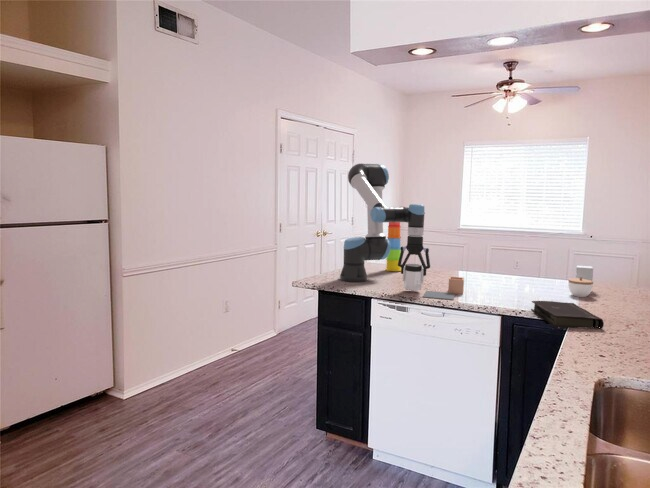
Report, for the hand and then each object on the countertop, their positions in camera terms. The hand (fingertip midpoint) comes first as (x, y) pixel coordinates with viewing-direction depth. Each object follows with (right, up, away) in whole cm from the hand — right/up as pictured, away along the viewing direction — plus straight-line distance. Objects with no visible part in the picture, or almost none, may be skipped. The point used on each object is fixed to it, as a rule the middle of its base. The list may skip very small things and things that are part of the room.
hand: (413, 281), depth 233 cm
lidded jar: (+82, -7, 0) cm, 83 cm away
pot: (+22, -6, +2) cm, 23 cm away
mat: (+11, -6, -7) cm, 15 cm away
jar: (0, -4, +1) cm, 4 cm away
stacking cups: (0, +2, +63) cm, 63 cm away
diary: (+52, -12, -45) cm, 69 cm away
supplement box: (+91, -6, +12) cm, 92 cm away
